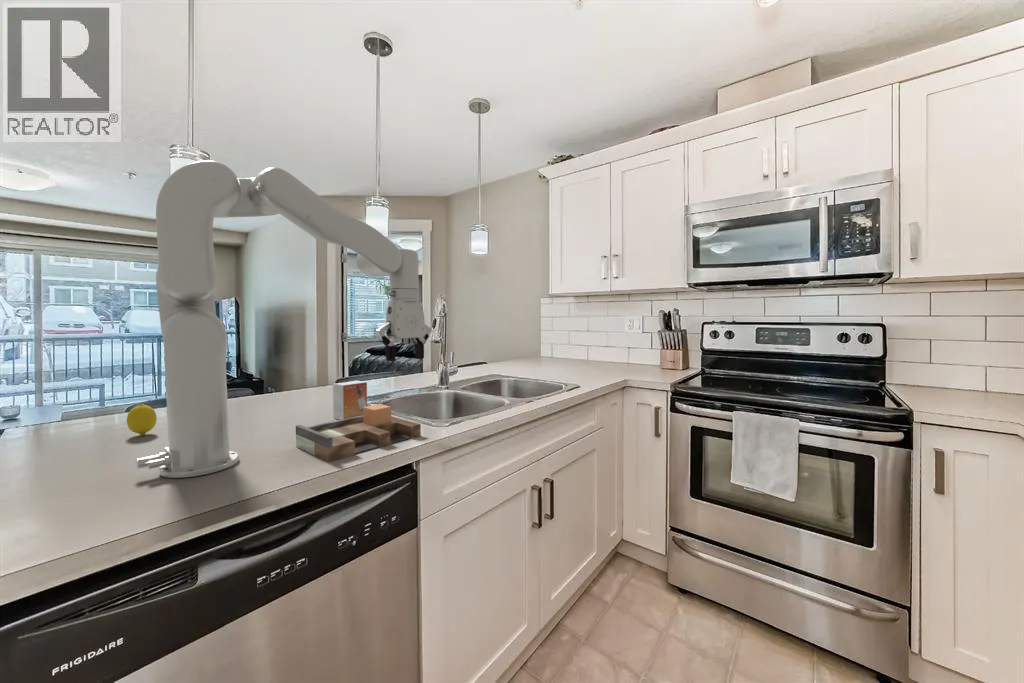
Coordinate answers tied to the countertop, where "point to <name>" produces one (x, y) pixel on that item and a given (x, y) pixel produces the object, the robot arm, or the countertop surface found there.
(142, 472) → the countertop surface
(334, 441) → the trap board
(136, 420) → the lemon
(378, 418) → the block
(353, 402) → the small box
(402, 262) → the robot arm
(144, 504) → the countertop surface
